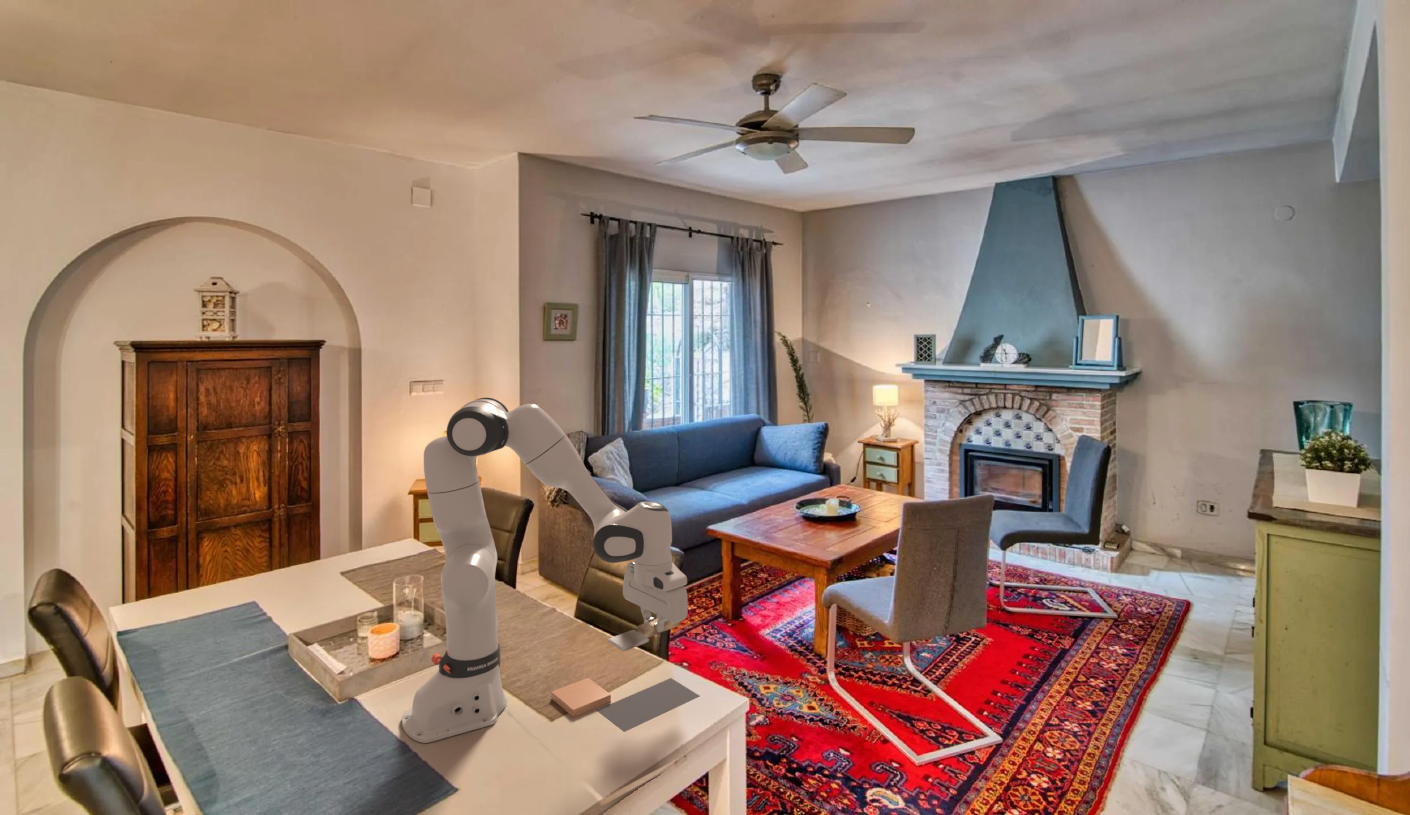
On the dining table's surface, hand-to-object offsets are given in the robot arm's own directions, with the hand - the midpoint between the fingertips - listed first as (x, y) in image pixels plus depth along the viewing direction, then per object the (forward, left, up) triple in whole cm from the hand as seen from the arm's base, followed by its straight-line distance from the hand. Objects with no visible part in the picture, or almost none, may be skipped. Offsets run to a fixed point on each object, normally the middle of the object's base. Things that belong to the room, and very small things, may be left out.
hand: (654, 627), depth 159 cm
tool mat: (-2, -1, -18) cm, 18 cm away
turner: (-3, 0, -1) cm, 3 cm away
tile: (-9, +10, -17) cm, 21 cm away
